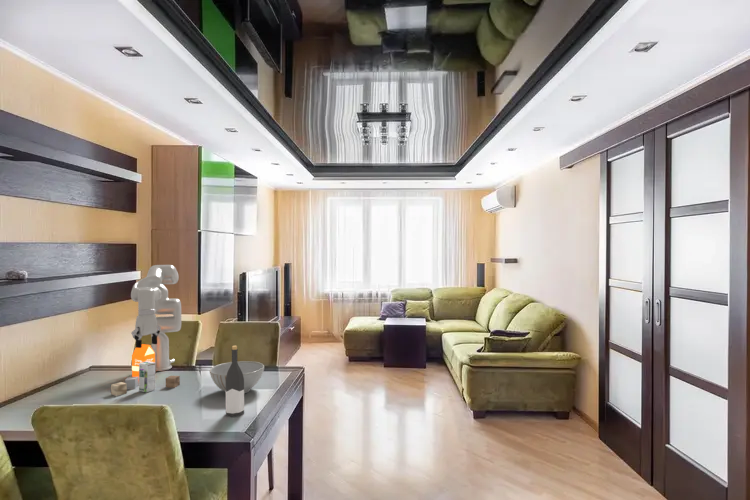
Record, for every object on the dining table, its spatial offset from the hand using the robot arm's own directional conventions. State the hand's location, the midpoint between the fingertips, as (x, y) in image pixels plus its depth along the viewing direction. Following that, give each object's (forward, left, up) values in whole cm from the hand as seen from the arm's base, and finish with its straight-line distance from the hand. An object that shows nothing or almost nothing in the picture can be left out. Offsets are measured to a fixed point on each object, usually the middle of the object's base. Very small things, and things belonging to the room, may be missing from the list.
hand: (146, 345), depth 231 cm
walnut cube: (-10, +7, -23) cm, 26 cm away
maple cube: (+9, -9, -23) cm, 27 cm away
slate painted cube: (-1, -12, -23) cm, 26 cm away
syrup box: (0, 0, -23) cm, 23 cm away
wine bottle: (+11, +64, -23) cm, 69 cm away
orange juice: (-13, -17, -23) cm, 32 cm away
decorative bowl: (-15, +45, -23) cm, 53 cm away
